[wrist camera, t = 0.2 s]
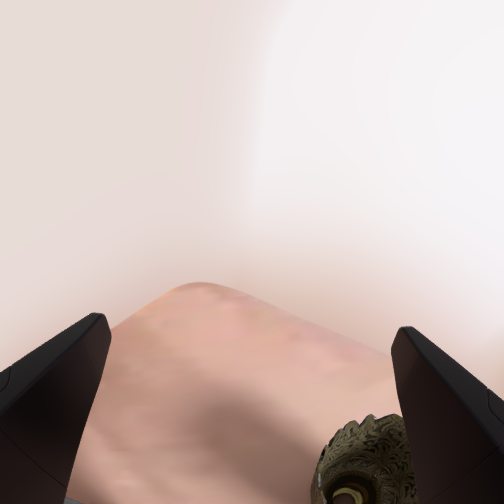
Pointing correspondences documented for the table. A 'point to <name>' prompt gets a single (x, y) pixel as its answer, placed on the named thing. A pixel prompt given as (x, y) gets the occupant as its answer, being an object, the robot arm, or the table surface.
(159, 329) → the table surface
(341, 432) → the cup
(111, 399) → the table surface
